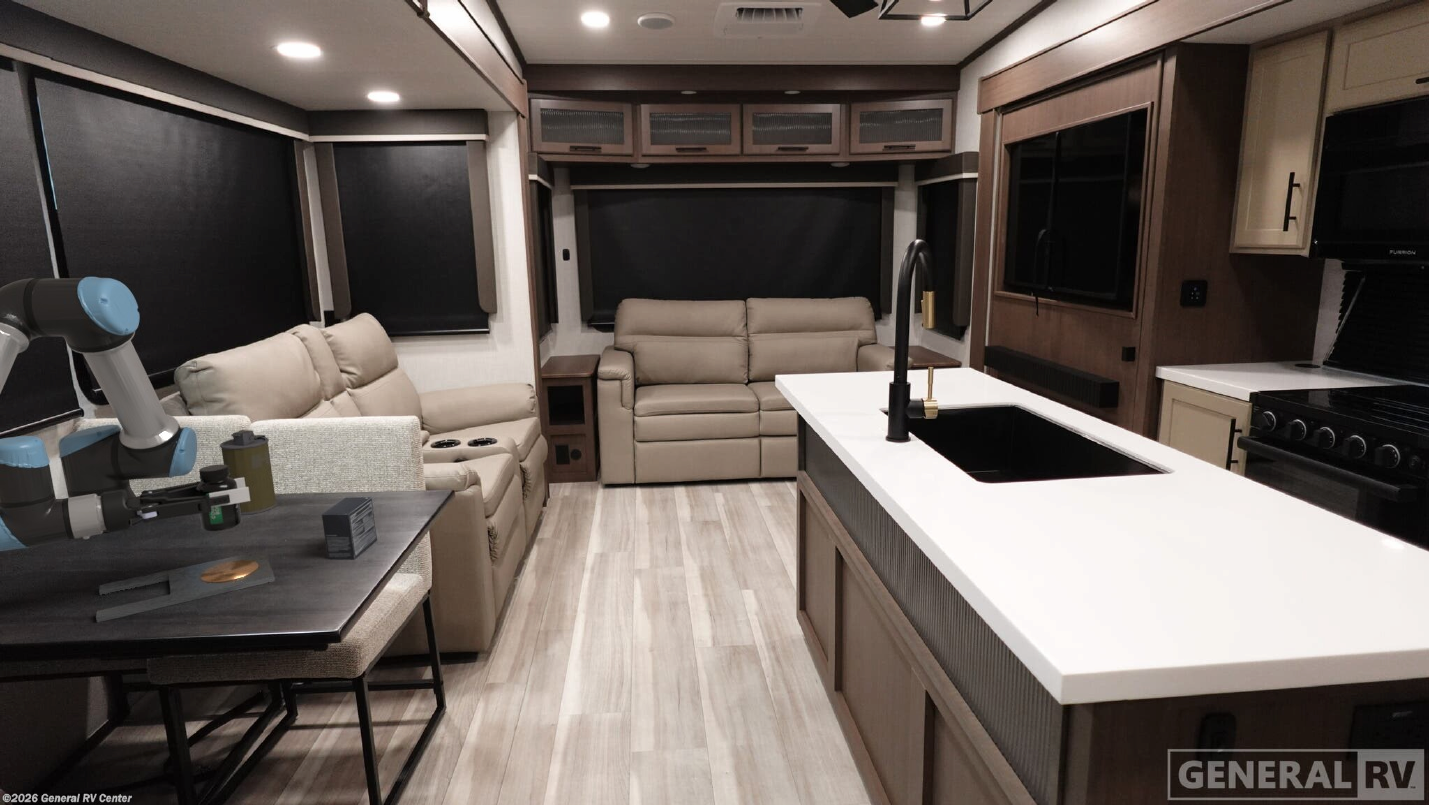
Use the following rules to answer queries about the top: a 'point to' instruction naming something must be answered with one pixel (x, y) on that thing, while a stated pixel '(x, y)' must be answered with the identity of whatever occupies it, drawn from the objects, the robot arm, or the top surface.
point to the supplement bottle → (216, 481)
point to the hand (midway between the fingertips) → (246, 488)
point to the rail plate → (193, 583)
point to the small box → (349, 528)
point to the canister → (251, 469)
